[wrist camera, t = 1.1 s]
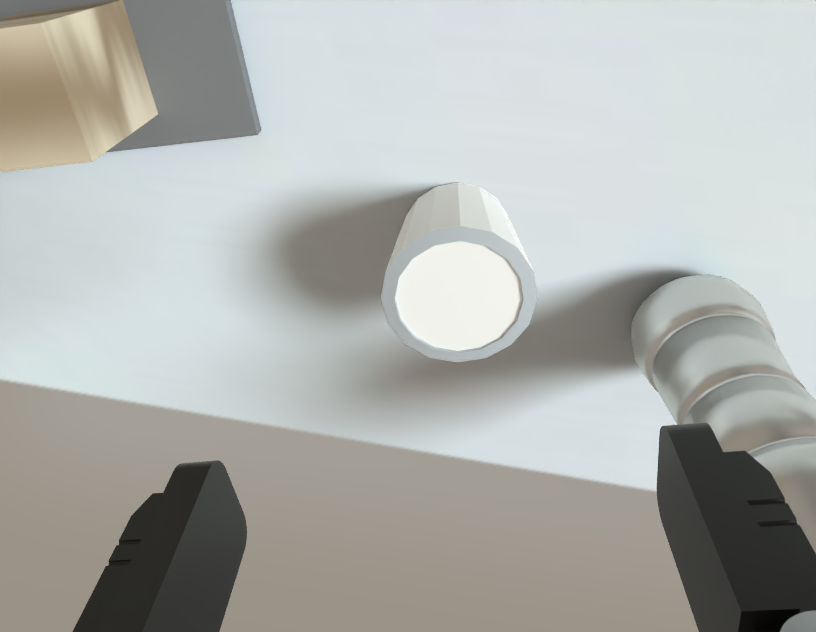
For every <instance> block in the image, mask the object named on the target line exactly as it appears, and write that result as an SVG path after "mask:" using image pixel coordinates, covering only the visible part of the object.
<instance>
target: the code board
mask: <svg viewBox="0 0 816 632" xmlns="http://www.w3.org/2000/svg"><path fill="white" fill-rule="evenodd" d="M109 1H116V0H0V18H4V17H8V16H12V15H16V14H22V13H30V12H37V11H44V10H51V9H58V8H66V7H73V6H80V5H87V4H94V3H102V2H109ZM123 3H124V6H125V9H126V12H127V15H128V19H129V22H130V25H131V28H132V32H133V35H134V38H135V41H136V44H137V48H138V51H139V54H140V57H141V60H142V64H143V67H144V70H145V73H146V77H147V80H148V83H149V86H150V89H151V93H152V96H153V99H154V102H155V105H156V109H157V112H158V115H156V116H155V117H154V118H152V119H151V120H150V121H148V122H147V123H145V124H144V125H143V126H141V127H140V128H138V129H137V130H136V131H134V132H133V133H132V134H130V135H129V136H127V137H126V138H125V139H123V140H122V141H120V142H119V143H118V144H116V145H115V146H114V147H112V148H111V149H109V150H108V151H107V152H112V151H121V150H130V149H139V148H147V147H156V146H165V145H174V144H182V143H191V142H200V141H209V140H217V139H226V138H235V137H244V136H252V135H258V134H259V132H260V131H261V127H260V123H259V119H258V115H257V110H256V106H255V102H254V98H253V93H252V89H251V85H250V81H249V77H248V72H247V68H246V64H245V60H244V55H243V51H242V47H241V43H240V39H239V34H238V30H237V26H236V22H235V17H234V13H233V9H232V5H231V1H230V0H123Z"/></svg>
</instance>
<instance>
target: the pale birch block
mask: <svg viewBox="0 0 816 632" xmlns="http://www.w3.org/2000/svg"><path fill="white" fill-rule="evenodd" d="M156 115H158V112H157V109H156V105H155V102H154V99H153V96H152V93H151V89H150V86H149V83H148V80H147V77H146V73H145V70H144V67H143V64H142V60H141V57H140V54H139V51H138V48H137V44H136V41H135V38H134V35H133V32H132V28H131V25H130V22H129V19H128V15H127V12H126V9H125V6H124V3H123V0H116V1H109V2H102V3H94V4H87V5H80V6H73V7H66V8H58V9H51V10H44V11H37V12H30V13H22V14H16V15H12V16H8V17H4V18H0V172H5V171H14V170H23V169H32V168H41V167H49V166H58V165H67V164H76V163H85V162H93V161H94V160H96V159H97V158H98V157H100V156H101V155H102V154H104V153H105V152H107V151H108V150H109V149H111V148H112V147H114V146H115V145H116V144H118V143H119V142H120V141H122V140H123V139H125V138H126V137H127V136H129V135H130V134H132V133H133V132H134V131H136V130H137V129H138V128H140V127H141V126H143V125H144V124H145V123H147V122H148V121H150V120H151V119H152V118H154V117H155V116H156Z"/></svg>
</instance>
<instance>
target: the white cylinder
mask: <svg viewBox="0 0 816 632" xmlns="http://www.w3.org/2000/svg"><path fill="white" fill-rule="evenodd" d="M537 300H538V297H537V290H536V283H535V275H534V271H533V269H532V267H531V264H530V262H529V260H528V258H527V256H526V254H525V252H524V249H523V247H522V245H521V243H520V241H519V239H518V236H517V234H516V232H515V230H514V228H513V226H512V223H511V221H510V219H509V217H508V215H507V213H506V212H505V210H504V209H503V207H502V206H501V204H500V203H499V201H498V200H497V198H496V197H494V196H493V195H491V194H490V193H488V192H487V191H485V190H484V189H482V188H481V187H479V186H474V185H469V184H464V183H459V182H456V183H451V184H446V185H441V186H436V187H434V188H433V189H431V190H430V191H428V192H426V193H425V194H423V195H422V196H420V197H419V198H418V199H417V200H416V202H415V203H414V204H413V206H412V207H411V209H410V210H409V212H408V213H407V215H406V217H405V220H404V223H403V225H402V228H401V231H400V234H399V236H398V239H397V242H396V244H395V247H394V250H393V253H392V255H391V258H390V261H389V263H388V266H387V269H386V272H385V277H384V283H383V288H382V293H381V301H382V304H383V308H384V312H385V315H386V319H387V323H388V324H389V325H390V327H391V328H392V329H393V330H394V332H395V333H396V334H397V335H398V336H399V338H400V339H401V340H402V341H403V343H404V344H406V345H407V346H409V347H411V348H413V349H415V350H416V351H418V352H420V353H422V354H423V355H425V356H427V357H429V358H434V359H440V360H446V361H451V362H464V361H471V360H478V359H484V358H487V357H489V356H491V355H493V354H495V353H497V352H499V351H501V350H503V349H505V348H506V347H508V346H510V345H512V343H513V342H514V341H515V340H516V339H517V338H518V337H519V336H520V334H521V333H522V332H523V331H524V330H525V329H526V328H527V327H528V325H529V324H530V321H531V318H532V315H533V312H534V309H535V306H536V303H537Z"/></svg>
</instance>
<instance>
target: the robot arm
mask: <svg viewBox="0 0 816 632" xmlns="http://www.w3.org/2000/svg"><path fill="white" fill-rule="evenodd" d="M657 499H658V506H659V512H660V517H661V520H662V524H663V527H664V530H665V533H666V536H667V539H668V542H669V545H670V548H671V551H672V553H673V557H674V559H675V562H676V565H677V568H678V571H679V574H680V577H681V580H682V583H683V586H684V589H685V592H686V595H687V597H688V601H689V604H690V606H691V610H692V613H693V615H694V618H695V621H696V624H697V627H698V630H699V632H816V553H815V551H814V550H813V548H812V546H811V544H810V542H809V541H808V539H807V537H806V535H805V533H804V532H803V530H802V528H801V526H800V525H798V524H797V519H796V517H795V515H794V514H793V512H792V510H791V508H790V506H789V505H788V503H786V502H785V497H784V496H783V494H782V492H781V490H780V488H779V487H778V485H777V483H776V481H775V479H774V478H773V476H772V474H771V472H770V471H769V470H767V469H766V468H765V467H764V466H763V465H761V464H760V463H759V462H758V461H757V460H755V459H754V458H753V457H752V456H751V455H750V454H748V453H747V452H746V451H732V452H723V450H722V448H721V446H720V444H719V442H718V440H717V438H716V436H715V434H714V432H713V430H712V428H711V427H710V425H709V424H708V423H694V424H682V425H670V426H662V427H661V429H660V437H659V456H658V474H657ZM246 538H247V527H246V520H245V516H244V513H243V510H242V508H241V505H240V503H239V500H238V498H237V496H236V493H235V491H234V488H233V486H232V483H231V481H230V478H229V476H228V473H227V471H226V468H225V466H224V465H223V463H221V462H220V461H206V462H194V463H183V464H179V465H178V466H177V467H176V468H175V470H174V471H173V473H172V476H171V478H170V480H169V482H168V484H167V486H166V488H165V491H164V493H155V494H152V495H151V496H150V497H149V498H148V499H147V500H146V501H145V502H144V503H143V504H142V505H141V507H139V509H138V510H137V511H136V512H135V513H134V514H133V515H132V516H131V518H130V520H129V522H128V524H127V526H126V528H125V530H124V532H123V533H122V535H121V538H120V540H119V545H117V546H116V547H115V550H114V551H113V553H112V555H111V557H110V559H109V565H108V566H106V567H105V569H104V571H103V573H102V575H101V577H100V579H99V581H98V583H97V585H96V587H95V589H94V591H93V593H92V595H91V597H90V599H89V601H88V602H87V604H86V607H85V609H84V610H83V613H82V614H81V616H80V618H79V620H78V622H77V624H76V626H75V628H74V630H73V632H219V631H220V628H221V624H222V621H223V618H224V615H225V611H226V608H227V605H228V601H229V598H230V595H231V592H232V589H233V586H234V582H235V579H236V576H237V572H238V569H239V566H240V563H241V560H242V556H243V553H244V550H245V546H246Z"/></svg>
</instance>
